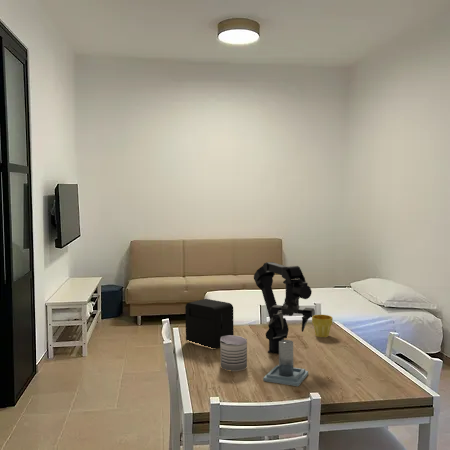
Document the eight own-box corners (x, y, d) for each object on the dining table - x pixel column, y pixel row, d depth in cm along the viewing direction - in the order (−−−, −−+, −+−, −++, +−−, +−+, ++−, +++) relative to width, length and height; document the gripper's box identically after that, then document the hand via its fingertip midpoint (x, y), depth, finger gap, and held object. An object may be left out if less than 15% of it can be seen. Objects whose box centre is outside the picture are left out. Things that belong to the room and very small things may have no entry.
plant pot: (334, 338, 243) (334, 319, 243) (313, 338, 243) (313, 319, 243) (330, 332, 254) (330, 314, 253) (310, 332, 254) (310, 314, 253)
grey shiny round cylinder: (276, 373, 192) (276, 341, 191) (286, 370, 195) (286, 338, 194) (285, 377, 187) (285, 344, 187) (296, 374, 190) (296, 342, 190)
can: (233, 360, 212) (233, 333, 211) (252, 366, 204) (252, 338, 203) (214, 366, 204) (214, 338, 203) (233, 373, 196) (233, 344, 195)
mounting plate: (263, 380, 188) (263, 375, 188) (275, 369, 200) (275, 363, 200) (298, 386, 182) (298, 380, 182) (308, 374, 194) (308, 368, 194)
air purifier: (235, 343, 236) (235, 302, 235) (215, 350, 226) (215, 308, 224) (206, 336, 250) (205, 297, 249) (185, 342, 239) (185, 302, 238)
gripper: (265, 296, 207) (265, 332, 208) (308, 300, 199) (308, 337, 200) (274, 292, 217) (274, 326, 218) (315, 295, 209) (315, 331, 210)
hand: (292, 330), depth 211 cm, fingers open, 9 cm apart
